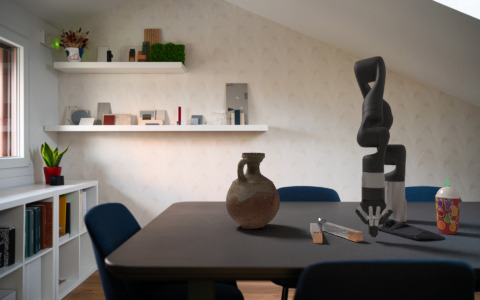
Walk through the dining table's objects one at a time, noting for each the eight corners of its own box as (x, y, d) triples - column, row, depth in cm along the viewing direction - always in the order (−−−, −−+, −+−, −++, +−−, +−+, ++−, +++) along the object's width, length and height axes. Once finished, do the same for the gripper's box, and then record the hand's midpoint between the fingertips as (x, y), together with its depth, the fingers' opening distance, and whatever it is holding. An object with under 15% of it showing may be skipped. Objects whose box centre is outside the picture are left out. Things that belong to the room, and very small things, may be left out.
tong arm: (322, 230, 143) (322, 222, 143) (328, 229, 145) (328, 222, 145) (356, 241, 126) (356, 232, 126) (362, 241, 127) (362, 232, 127)
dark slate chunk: (411, 243, 127) (411, 229, 127) (372, 229, 148) (372, 217, 148) (449, 240, 130) (449, 227, 130) (406, 227, 152) (406, 216, 152)
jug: (287, 224, 156) (287, 152, 156) (268, 235, 137) (268, 152, 136) (239, 220, 165) (239, 152, 165) (216, 230, 146) (215, 152, 146)
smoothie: (457, 231, 143) (458, 178, 143) (463, 236, 135) (463, 180, 135) (433, 229, 146) (433, 178, 146) (437, 234, 138) (437, 179, 138)
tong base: (309, 228, 148) (309, 217, 148) (325, 229, 147) (325, 217, 147) (313, 243, 125) (313, 229, 125) (333, 243, 125) (333, 230, 125)
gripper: (390, 184, 131) (390, 234, 131) (351, 184, 133) (351, 233, 133) (396, 187, 124) (396, 239, 124) (355, 186, 125) (355, 238, 125)
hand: (373, 236), depth 128 cm, fingers closed
